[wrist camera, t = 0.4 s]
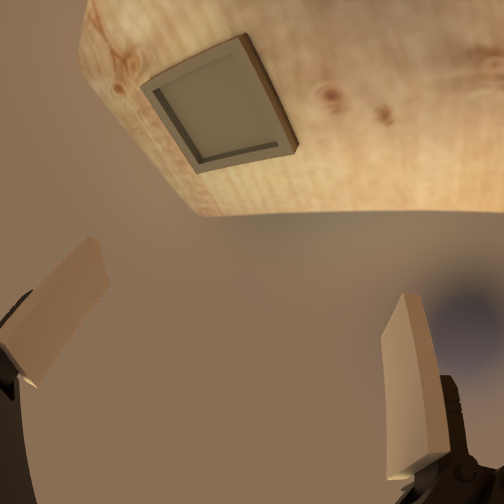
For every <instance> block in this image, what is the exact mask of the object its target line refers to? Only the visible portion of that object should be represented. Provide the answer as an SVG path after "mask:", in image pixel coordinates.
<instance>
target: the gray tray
mask: <svg viewBox="0 0 504 504" xmlns="http://www.w3.org/2000/svg"><path fill="white" fill-rule="evenodd" d="M140 88H141V90H142V91H143V93H144V94H145V96H146V97H147V99H148V101H149V102H150V104H151V105H152V107H153V108H154V110H155V111H156V113H157V114H158V116H159V117H160V119H161V121H162V122H163V124H164V125H165V127H166V128H167V130H168V131H169V133H170V134H171V136H172V137H173V139H174V140H175V142H176V144H177V145H178V147H179V148H180V150H181V151H182V153H183V154H184V156H185V157H186V159H187V160H188V162H189V163H190V165H191V167H192V168H193V170H194V171H195V173H196V174H199V173H203V172H207V171H212V170H216V169H221V168H225V167H230V166H235V165H240V164H244V163H249V162H254V161H260V160H265V159H270V158H276V157H281V156H287V155H293V154H295V152H296V150H297V147H298V145H299V143H298V141H297V138H296V136H295V134H294V131H293V129H292V127H291V124H290V122H289V120H288V118H287V115H286V113H285V111H284V109H283V106H282V104H281V102H280V100H279V98H278V96H277V93H276V91H275V89H274V87H273V85H272V83H271V81H270V79H269V77H268V74H267V72H266V70H265V68H264V66H263V64H262V62H261V60H260V58H259V56H258V54H257V52H256V50H255V48H254V46H253V45H252V43H251V41H250V39H249V37H248V35H247V33H245V34H242V35H240V36H237V37H235V38H232V39H230V40H228V41H225V42H223V43H221V44H218V45H216V46H214V47H212V48H210V49H207V50H205V51H203V52H201V53H199V54H197V55H195V56H193V57H191V58H189V59H187V60H185V61H183V62H181V63H179V64H177V65H175V66H173V67H171V68H169V69H168V70H166V71H164V72H162V73H160V74H159V75H157V76H155V77H153V78H152V79H150V80H148V81H147V82H145V83H144V84H143V85H141V86H140Z"/></svg>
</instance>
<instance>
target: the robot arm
mask: <svg viewBox="0 0 504 504" xmlns="http://www.w3.org/2000/svg"><path fill="white" fill-rule="evenodd" d="M110 286H111V285H110V282H109V278H108V274H107V271H106V267H105V263H104V259H103V255H102V251H101V247H100V243H99V240H98V239H94V238H90V237H86V238H85V239H84V240H83V241H81V242H80V243H79V244H78V245H77V246H76V247H75V248H74V249H73V250H72V251H71V252H70V253H69V254H68V255H67V256H66V257H65V258H64V259H63V260H62V261H61V262H60V263H59V264H58V265H57V266H56V267H55V268H54V269H53V270H52V271H51V272H50V273H49V274H48V275H47V276H46V278H44V280H43V281H42V282H41V283H40V284H39V285H38V286H37V287H36V288H35V289H34V290H31V291H29V292H28V293H26V294H25V295H23V296H22V297H21V298H20V299H19V300H18V302H17V303H16V304H15V306H13V307H12V308H11V310H10V312H8V313H7V314H6V315H5V317H4V318H3V319H2V320H1V321H0V504H37V502H36V498H35V495H34V490H33V486H32V481H31V477H30V473H29V467H28V462H27V456H26V450H25V444H24V436H23V428H22V418H21V406H20V392H19V391H20V390H19V380H18V378H17V375H18V374H19V373H20V374H21V376H22V377H23V378H24V379H25V381H27V382H28V383H30V384H32V385H33V386H35V387H36V388H38V387H39V385H40V384H41V382H42V380H43V379H44V377H45V376H46V374H47V373H48V371H49V370H50V368H51V367H52V365H53V364H54V362H55V361H56V359H57V358H58V356H59V354H60V353H61V352H62V351H63V349H64V348H65V346H66V344H67V343H68V342H69V341H70V339H71V338H72V336H73V335H74V333H75V332H76V331H77V329H78V328H79V327H80V325H81V324H82V322H83V321H84V319H85V318H86V317H87V316H88V314H89V313H90V312H91V310H92V309H93V308H94V306H95V305H96V304H97V302H98V301H99V300H100V298H101V297H102V296H103V295H104V293H105V292H106V291H107V289H108V288H109V287H110ZM381 345H382V354H383V366H384V379H385V395H386V417H387V480H395V479H407V478H409V477H410V476H412V475H414V476H415V478H414V482H412V483H410V484H408V485H406V486H405V487H403V488H402V489H401V491H405V490H406V491H405V492H404V494H403V495H402V496H401V497H400V498H399V500H398V501H397V502H396V503H395V504H504V466H502V467H501V468H499V469H493V468H488V467H484V466H480V465H478V462H477V461H476V460H475V458H474V457H473V456H471V455H469V453H468V448H467V442H466V434H465V427H464V421H463V414H462V413H461V411H462V408H461V403H459V401H460V398H459V393H458V388H457V386H456V384H455V383H454V381H453V379H452V377H451V376H449V375H439V371H438V366H437V361H436V356H435V352H434V348H433V343H432V339H431V335H430V331H429V327H428V324H427V320H426V316H425V312H424V309H423V305H422V302H421V299H420V295H418V294H411V293H404V292H403V293H402V296H401V298H400V300H399V302H398V304H397V306H396V309H395V311H394V312H393V315H392V317H391V319H390V321H389V323H388V325H387V326H386V329H385V331H384V332H383V334H382V336H381Z"/></svg>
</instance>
